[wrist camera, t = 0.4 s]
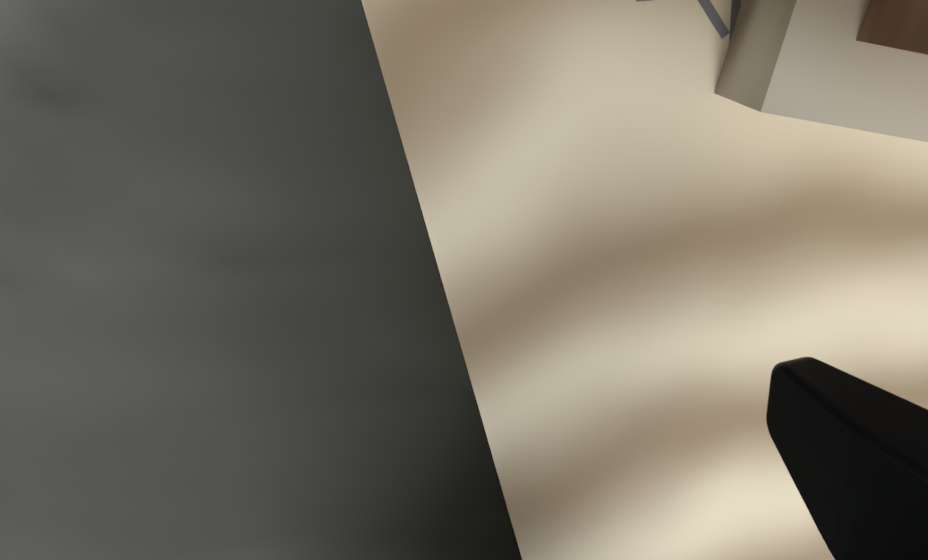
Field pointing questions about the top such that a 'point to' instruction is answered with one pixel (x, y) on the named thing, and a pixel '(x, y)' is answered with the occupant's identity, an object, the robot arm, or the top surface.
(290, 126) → the top surface
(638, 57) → the plywood board
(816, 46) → the block
